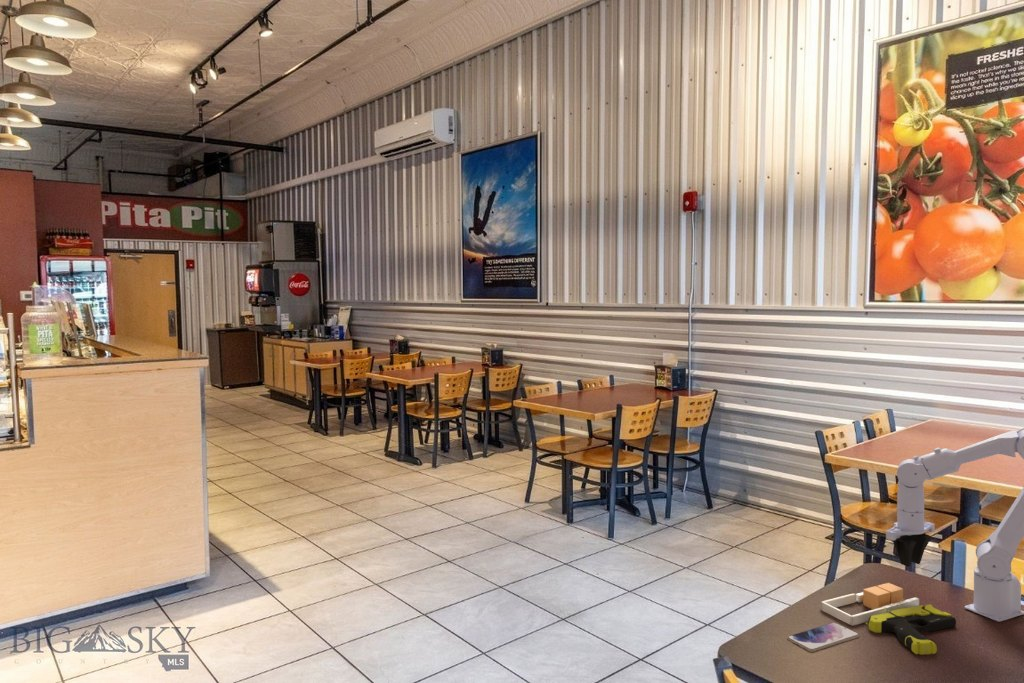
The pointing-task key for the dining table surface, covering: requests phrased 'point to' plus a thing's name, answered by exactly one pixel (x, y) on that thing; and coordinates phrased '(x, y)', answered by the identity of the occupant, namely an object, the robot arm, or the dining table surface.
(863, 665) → the dining table surface
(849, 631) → the smartphone
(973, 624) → the dining table surface
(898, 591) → the light orange cube
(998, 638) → the dining table surface
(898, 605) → the rail channel
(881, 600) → the tan wooden cube
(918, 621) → the stun gun
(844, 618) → the tray
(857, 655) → the dining table surface
